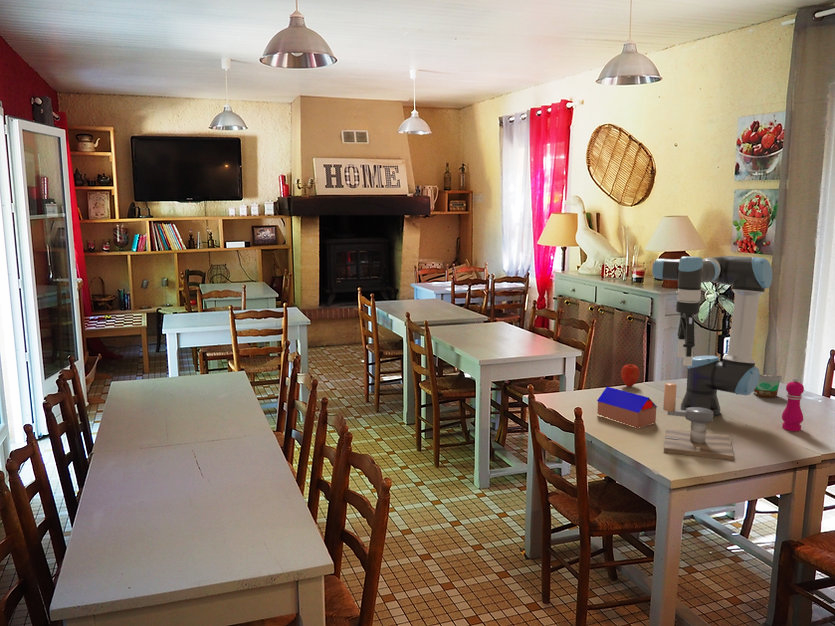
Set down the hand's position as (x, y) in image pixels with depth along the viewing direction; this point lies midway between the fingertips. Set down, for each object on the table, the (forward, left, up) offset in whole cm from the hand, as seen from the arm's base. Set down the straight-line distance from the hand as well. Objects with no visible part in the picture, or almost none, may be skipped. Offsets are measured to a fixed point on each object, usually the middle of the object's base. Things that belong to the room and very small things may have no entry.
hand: (684, 361), depth 239 cm
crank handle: (-1, +2, -21) cm, 21 cm away
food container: (-78, +36, -31) cm, 91 cm away
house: (-23, -20, -31) cm, 43 cm away
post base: (-1, +6, -31) cm, 31 cm away
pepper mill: (-33, +40, -31) cm, 60 cm away
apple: (-75, -22, -31) cm, 84 cm away
